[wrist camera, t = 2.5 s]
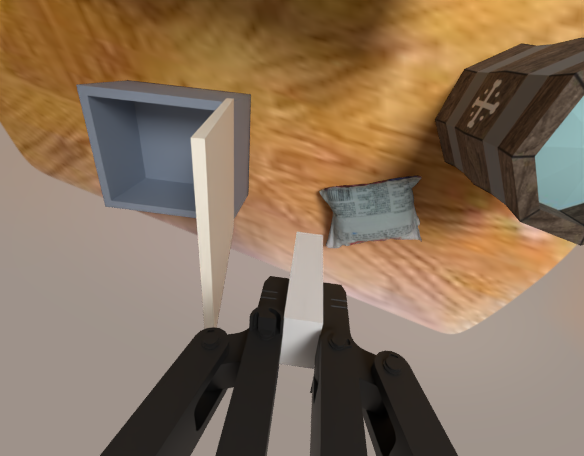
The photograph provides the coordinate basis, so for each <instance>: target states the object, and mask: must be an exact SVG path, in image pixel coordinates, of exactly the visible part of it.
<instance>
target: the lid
mask: <svg viewBox="0 0 584 456" xmlns="http://www.w3.org/2000/svg"><path fill="white" fill-rule="evenodd" d="M191 150H192V164H193V178H194V191H195V205H196V219H197V233H198V245H199V260H200V274H201V288H202V300H203V313H204V314H203V315H204V329H206V328H212V327H215V328H217V323H218V317H219V311H220V305H221V300H222V294H223V288H224V282H225V276H226V271H227V265H228V259H229V253H230V248H231V242H232V236H233V230H234V99H232V98H226V99H225V100H224V101H223V102H222V104H221V105H220V106H219V107H218V108H217V109H216V110H215V111H214V112H213V114H212V115H211V116H210V117H209V118H208V119H207V120H206V121H205V122H204V123H203V125H202V126H201V127H200V128H199V129H198V130H197V131H196V132H195V133H194V134H193V136H192V137H191Z"/></svg>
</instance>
